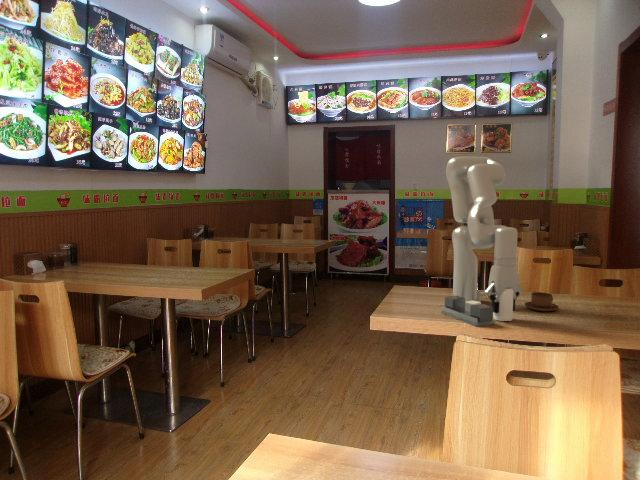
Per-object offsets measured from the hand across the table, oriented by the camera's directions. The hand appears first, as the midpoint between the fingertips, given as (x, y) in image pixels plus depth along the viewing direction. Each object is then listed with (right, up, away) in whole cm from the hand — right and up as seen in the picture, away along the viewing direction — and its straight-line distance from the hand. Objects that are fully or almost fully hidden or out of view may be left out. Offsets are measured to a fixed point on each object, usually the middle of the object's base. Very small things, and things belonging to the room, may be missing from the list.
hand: (503, 310), depth 179 cm
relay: (-8, -2, +11) cm, 14 cm away
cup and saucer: (+21, -2, +16) cm, 26 cm away
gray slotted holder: (-12, -3, +2) cm, 13 cm away
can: (0, -3, 0) cm, 3 cm away
